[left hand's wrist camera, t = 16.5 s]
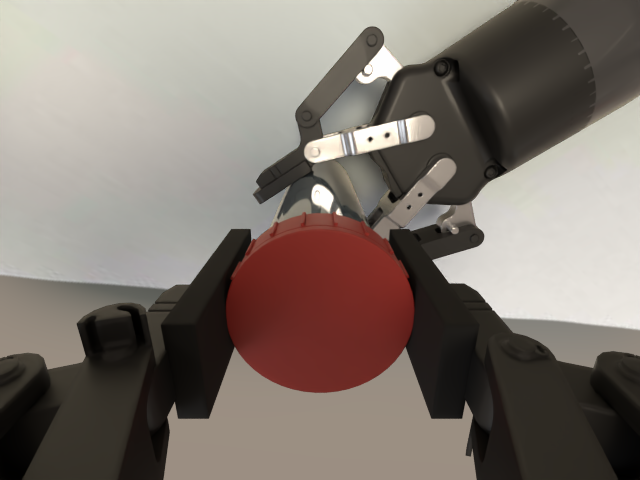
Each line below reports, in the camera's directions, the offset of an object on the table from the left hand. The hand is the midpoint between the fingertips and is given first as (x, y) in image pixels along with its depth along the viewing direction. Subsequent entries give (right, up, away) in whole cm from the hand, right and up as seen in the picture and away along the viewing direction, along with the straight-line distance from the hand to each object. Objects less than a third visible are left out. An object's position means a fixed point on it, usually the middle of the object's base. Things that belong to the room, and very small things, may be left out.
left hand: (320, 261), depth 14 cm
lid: (0, -1, -4) cm, 4 cm away
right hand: (-2, +1, +8) cm, 8 cm away
